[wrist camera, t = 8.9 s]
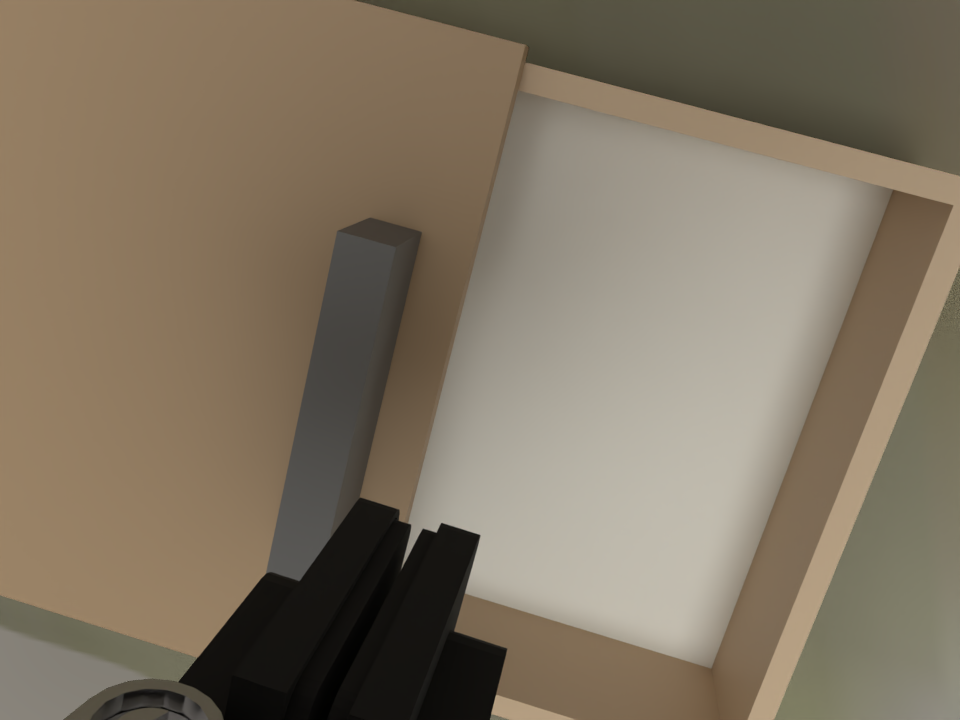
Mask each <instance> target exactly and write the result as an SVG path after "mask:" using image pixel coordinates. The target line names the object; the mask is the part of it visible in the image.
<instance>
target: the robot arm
mask: <svg viewBox="0 0 960 720" xmlns="http://www.w3.org/2000/svg"><path fill="white" fill-rule="evenodd" d="M399 515H400V510H399V509H396V508H393V507H390V506H387V505H383V504H380V503H377V502H374V501H371V500H367V499H364V498H359V499H358V500H357V502H356V503H355V504H354V506H353V507H352V509H351V510H350V511H349V513H348V514H347V516H346V517H345V518H344V520H343V521H342V523H341V524H340V525H339V527H338V528H337V530H336V531H335V532H334V534H333V535H332V536H331V538H330V539H329V541H328V542H327V543H326V545H325V546H324V548H323V549H322V550H321V552H320V553H319V555H318V556H317V557H316V559H315V560H314V562H313V563H312V564H311V566H310V567H309V569H308V570H307V571H306V573H305V574H304V576H303V577H302V578H301V580H300V581H298V580H295V579H292V578H289V577H285V576H282V575H279V574H276V573H273V572H268V573H266V574H265V575H264V576H263V577H262V578H261V579H260V581H259V582H258V583H257V584H256V586H255V587H254V588H253V589H252V591H251V592H250V593H249V594H248V596H247V597H246V598H245V599H244V601H243V602H242V603H241V604H240V606H239V607H238V608H237V609H236V611H235V612H234V613H233V614H232V616H231V617H230V618H229V619H228V621H227V622H226V623H225V624H224V626H223V627H222V628H221V629H220V631H219V632H218V633H217V634H216V636H215V637H214V638H213V639H212V641H211V642H210V643H209V644H208V646H207V647H206V648H205V649H204V651H203V652H202V653H201V654H200V656H199V657H198V658H197V659H196V661H195V662H194V663H193V664H192V666H191V667H190V668H189V669H188V671H187V672H186V673H185V674H184V676H183V677H182V678H181V679H180V681H179V682H176V681H170V680H160V679H144V680H133V681H128V682H124V683H121V684H118V685H115V686H112V687H109V688H106V689H105V690H103V691H101V692H100V693H98V694H97V695H95V696H93V697H92V698H90V699H89V700H87V701H86V702H85V703H84V704H82V705H81V706H80V707H79V708H77V709H76V710H75V711H74V712H72V713H71V714H70V715H69V716H67V717H66V718H65V719H64V720H490V717H491V713H492V709H493V705H494V701H495V697H496V693H497V689H498V685H499V681H500V677H501V673H502V669H503V666H504V662H505V658H506V653H507V648H504V647H501V646H498V645H495V644H492V643H489V642H486V641H483V640H480V639H477V638H474V637H470V636H467V635H464V634H461V633H458V632H455V631H454V630H455V627H456V623H457V620H458V616H459V612H460V609H461V605H462V602H463V598H464V595H465V591H466V587H467V584H468V580H469V577H470V573H471V570H472V566H473V562H474V559H475V555H476V552H477V548H478V544H479V540H480V535H479V534H476V533H473V532H470V531H466V530H463V529H460V528H457V527H454V526H450V525H447V524H444V523H441V525H440V526H439V528H438V530H437V533H436V532H433V531H430V530H427V529H422V531H421V533H420V534H419V536H418V538H417V540H416V542H415V544H414V546H413V548H412V550H411V552H410V554H409V556H408V558H407V559H406V561H405V563H404V565H403V567H402V564H403V560H404V556H405V552H406V548H407V544H408V540H409V536H410V532H411V524H408V523H405V522H401V521H399ZM401 568H402V569H401Z"/></svg>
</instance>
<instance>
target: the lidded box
mask: <svg viewBox="0 0 960 720" xmlns="http://www.w3.org/2000/svg"><path fill="white" fill-rule="evenodd" d="M959 267H960V176H957V175H954V174H950V173H946V172H942V171H938V170H934V169H931V168H927V167H923V166H919V165H915V164H912V163H908V162H904V161H900V160H896V159H893V158H889V157H885V156H881V155H877V154H873V153H870V152H866V151H862V150H858V149H854V148H851V147H847V146H843V145H839V144H835V143H831V142H828V141H824V140H820V139H816V138H812V137H809V136H805V135H801V134H797V133H793V132H789V131H786V130H782V129H778V128H774V127H770V126H767V125H763V124H759V123H755V122H751V121H747V120H744V119H740V118H736V117H732V116H728V115H725V114H721V113H717V112H713V111H709V110H705V109H702V108H698V107H694V106H690V105H686V104H683V103H679V102H675V101H671V100H667V99H663V98H660V97H656V96H652V95H648V94H644V93H641V92H637V91H633V90H629V89H625V88H621V87H618V86H614V85H610V84H606V83H602V82H599V81H595V80H591V79H587V78H583V77H580V76H576V75H572V74H568V73H564V72H560V71H557V70H553V69H549V68H545V67H541V66H538V65H534V64H530V63H526V62H525V65H524V69H523V73H522V77H521V81H520V85H519V89H518V93H517V97H516V101H515V105H514V108H513V112H512V116H511V120H510V124H509V128H508V132H507V136H506V140H505V144H504V148H503V152H502V156H501V160H500V163H499V167H498V171H497V175H496V179H495V183H494V187H493V191H492V195H491V199H490V203H489V207H488V211H487V215H486V219H485V222H484V226H483V230H482V234H481V238H480V242H479V246H478V250H477V254H476V258H475V262H474V266H473V270H472V274H471V278H470V281H469V285H468V289H467V293H466V297H465V301H464V305H463V309H462V313H461V317H460V321H459V325H458V329H457V333H456V337H455V340H454V344H453V348H452V352H451V356H450V360H449V364H448V368H447V372H446V376H445V380H444V384H443V388H442V392H441V396H440V399H439V403H438V407H437V411H436V415H435V419H434V423H433V427H432V431H431V435H430V439H429V443H428V447H427V451H426V454H425V458H424V462H423V466H422V470H421V474H420V478H419V482H418V486H417V490H416V494H415V498H414V502H413V506H412V510H411V513H410V517H409V521H408V524H411V532H410V536H409V540H408V544H407V548H406V552H405V556H404V560H403V564H402V567H403V565H404V563H405V561H406V559H407V558H408V556H409V554H410V552H411V550H412V548H413V546H414V544H415V542H416V540H417V538H418V536H419V534H420V533H421V531H422V529H427V530H430V531H433V532H436V533H437V530H438V528H439V526H440V525H441V523H444V524H447V525H450V526H454V527H457V528H460V529H463V530H466V531H470V532H473V533H476V534H479V535H480V540H479V544H478V548H477V552H476V555H475V559H474V562H473V566H472V570H471V573H470V577H469V580H468V584H467V587H466V591H465V595H464V598H463V602H462V605H461V609H460V612H459V616H458V620H457V623H456V627H455V630H454V631H455V632H458V633H461V634H464V635H467V636H470V637H474V638H477V639H480V640H483V641H486V642H489V643H492V644H495V645H498V646H501V647H504V648H507V653H506V658H505V662H504V666H503V669H502V673H501V677H500V681H499V685H498V689H497V693H496V697H495V701H494V705H493V709H492V713H491V714H494V715H497V716H500V717H503V718H506V719H510V720H774V718H775V716H776V713H777V711H778V708H779V706H780V704H781V701H782V699H783V696H784V694H785V691H786V689H787V686H788V684H789V682H790V679H791V677H792V674H793V672H794V669H795V667H796V665H797V662H798V660H799V657H800V655H801V652H802V650H803V648H804V645H805V643H806V640H807V638H808V635H809V633H810V630H811V628H812V626H813V623H814V621H815V618H816V616H817V613H818V611H819V609H820V606H821V604H822V601H823V599H824V596H825V594H826V591H827V589H828V587H829V584H830V582H831V579H832V577H833V574H834V572H835V570H836V567H837V565H838V562H839V560H840V557H841V555H842V552H843V550H844V548H845V545H846V543H847V540H848V538H849V535H850V533H851V531H852V528H853V526H854V523H855V521H856V518H857V516H858V513H859V511H860V509H861V506H862V504H863V501H864V499H865V496H866V494H867V492H868V489H869V487H870V484H871V482H872V479H873V477H874V474H875V472H876V470H877V467H878V465H879V462H880V460H881V457H882V455H883V453H884V450H885V448H886V445H887V443H888V440H889V438H890V435H891V433H892V431H893V428H894V426H895V423H896V421H897V418H898V416H899V414H900V411H901V409H902V406H903V404H904V401H905V399H906V397H907V394H908V392H909V389H910V387H911V384H912V382H913V379H914V377H915V375H916V372H917V370H918V367H919V365H920V362H921V360H922V358H923V355H924V353H925V350H926V348H927V345H928V343H929V340H930V338H931V336H932V333H933V331H934V328H935V326H936V323H937V321H938V319H939V316H940V314H941V311H942V309H943V306H944V304H945V301H946V299H947V297H948V294H949V292H950V289H951V287H952V284H953V282H954V280H955V277H956V275H957V272H958V270H959ZM401 569H402V568H401Z"/></svg>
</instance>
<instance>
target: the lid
mask: <svg viewBox="0 0 960 720" xmlns="http://www.w3.org/2000/svg"><path fill="white" fill-rule="evenodd" d="M528 49H529V47H527V46H526V45H524V44H520V43H516V42H512V41H509V40H505V39H501V38H497V37H493V36H489V35H486V34H482V33H478V32H474V31H470V30H466V29H463V28H459V27H455V26H451V25H447V24H443V23H440V22H436V21H432V20H428V19H424V18H420V17H417V16H413V15H409V14H405V13H401V12H397V11H393V10H390V9H386V8H382V7H378V6H374V5H370V4H367V3H363V2H359V1H355V0H0V595H1V596H4V597H8V598H11V599H14V600H17V601H20V602H23V603H27V604H30V605H33V606H36V607H39V608H42V609H46V610H49V611H52V612H55V613H58V614H61V615H65V616H68V617H71V618H74V619H77V620H80V621H83V622H87V623H90V624H93V625H96V626H99V627H102V628H106V629H109V630H112V631H115V632H118V633H121V634H125V635H128V636H131V637H134V638H137V639H140V640H144V641H147V642H150V643H153V644H156V645H159V646H163V647H166V648H169V649H172V650H175V651H178V652H181V653H185V654H188V655H191V656H194V657H197V658H198V657H199V656H200V654H201V653H202V652H203V651H204V649H205V648H206V647H207V646H208V644H209V643H210V642H211V641H212V639H213V638H214V637H215V636H216V634H217V633H218V632H219V631H220V629H221V628H222V627H223V626H224V624H225V623H226V622H227V621H228V619H229V618H230V617H231V616H232V614H233V613H234V612H235V611H236V609H237V608H238V607H239V606H240V604H241V603H242V602H243V601H244V599H245V598H246V597H247V596H248V594H249V593H250V592H251V591H252V589H253V588H254V587H255V586H256V584H257V583H258V582H259V581H260V579H261V578H262V577H263V576H264V575H265V574H266V573H268V572H273V573H276V574H279V575H282V576H285V577H289V578H292V579H295V580H298V581H300V580H301V578H302V577H303V576H304V574H305V573H306V571H307V570H308V569H309V567H310V566H311V564H312V563H313V562H314V560H315V559H316V557H317V556H318V555H319V553H320V552H321V550H322V549H323V548H324V546H325V545H326V543H327V542H328V541H329V539H330V538H331V536H332V535H333V534H334V532H335V531H336V530H337V528H338V527H339V525H340V524H341V523H342V521H343V520H344V518H345V517H346V516H347V514H348V513H349V511H350V510H351V509H352V507H353V506H354V504H355V503H356V502H357V500H358V499H359V498H364V499H367V500H371V501H374V502H377V503H380V504H383V505H387V506H390V507H393V508H396V509H399V510H400V515H399V521H401V522H405V523H408V521H409V517H410V513H411V510H412V506H413V502H414V498H415V494H416V490H417V486H418V482H419V478H420V474H421V470H422V466H423V462H424V458H425V454H426V451H427V447H428V443H429V439H430V435H431V431H432V427H433V423H434V419H435V415H436V411H437V407H438V403H439V399H440V396H441V392H442V388H443V384H444V380H445V376H446V372H447V368H448V364H449V360H450V356H451V352H452V348H453V344H454V340H455V337H456V333H457V329H458V325H459V321H460V317H461V313H462V309H463V305H464V301H465V297H466V293H467V289H468V285H469V281H470V278H471V274H472V270H473V266H474V262H475V258H476V254H477V250H478V246H479V242H480V238H481V234H482V230H483V226H484V222H485V219H486V215H487V211H488V207H489V203H490V199H491V195H492V191H493V187H494V183H495V179H496V175H497V171H498V167H499V163H500V160H501V156H502V152H503V148H504V144H505V140H506V136H507V132H508V128H509V124H510V120H511V116H512V112H513V108H514V105H515V101H516V97H517V93H518V89H519V85H520V81H521V77H522V73H523V69H524V65H525V61H526V57H527V53H528Z"/></svg>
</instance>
